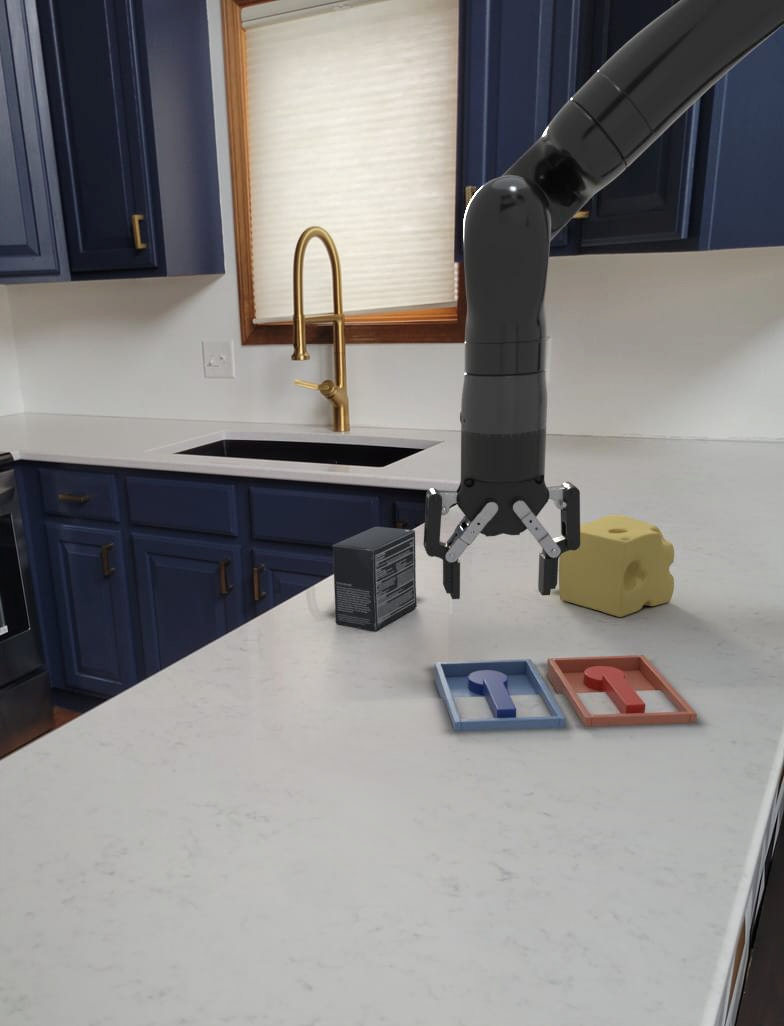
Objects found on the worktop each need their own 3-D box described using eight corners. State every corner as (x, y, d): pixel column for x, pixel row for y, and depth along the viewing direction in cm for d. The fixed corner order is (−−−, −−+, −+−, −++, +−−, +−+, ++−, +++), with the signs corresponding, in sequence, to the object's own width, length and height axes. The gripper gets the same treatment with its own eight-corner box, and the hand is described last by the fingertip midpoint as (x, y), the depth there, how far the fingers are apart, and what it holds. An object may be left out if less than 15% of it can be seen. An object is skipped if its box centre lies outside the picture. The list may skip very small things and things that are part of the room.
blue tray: (529, 676, 102) (530, 658, 102) (564, 737, 89) (565, 718, 88) (434, 679, 103) (434, 662, 102) (454, 741, 89) (454, 722, 88)
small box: (375, 600, 129) (374, 524, 125) (418, 607, 125) (418, 529, 121) (332, 623, 121) (329, 542, 117) (376, 632, 117) (375, 549, 113)
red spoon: (655, 723, 90) (657, 703, 89) (612, 724, 90) (614, 705, 89) (617, 675, 100) (618, 657, 100) (579, 676, 101) (580, 659, 100)
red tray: (642, 672, 102) (643, 654, 102) (694, 733, 88) (697, 713, 88) (546, 675, 102) (547, 658, 102) (584, 737, 89) (585, 717, 88)
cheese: (673, 602, 123) (680, 526, 120) (618, 620, 117) (624, 541, 114) (607, 584, 131) (612, 512, 128) (553, 600, 126) (557, 526, 122)
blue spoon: (527, 727, 90) (528, 708, 89) (484, 729, 90) (485, 710, 89) (503, 679, 101) (503, 661, 100) (465, 681, 101) (465, 663, 100)
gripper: (428, 434, 83) (429, 611, 88) (594, 425, 82) (584, 604, 88) (419, 421, 90) (421, 586, 95) (572, 413, 89) (564, 580, 95)
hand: (499, 595), depth 92 cm, fingers open, 8 cm apart
